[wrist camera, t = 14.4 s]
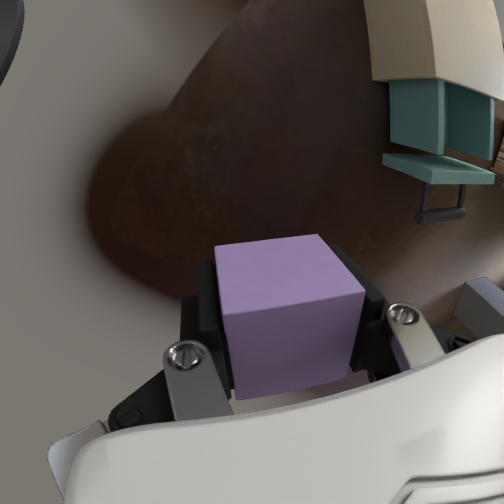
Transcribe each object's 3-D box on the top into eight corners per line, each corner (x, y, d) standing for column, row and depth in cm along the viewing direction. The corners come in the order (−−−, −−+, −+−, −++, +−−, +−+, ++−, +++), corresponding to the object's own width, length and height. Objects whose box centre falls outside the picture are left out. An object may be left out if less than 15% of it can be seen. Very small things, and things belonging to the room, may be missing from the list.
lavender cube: (225, 327, 13) (236, 401, 9) (213, 245, 11) (221, 314, 7) (312, 313, 13) (345, 378, 9) (317, 233, 11) (366, 290, 8)
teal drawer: (443, 203, 30) (486, 228, 23) (379, 208, 29) (423, 238, 22) (447, 67, 22) (496, 68, 15) (378, 48, 21) (429, 38, 14)
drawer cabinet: (447, 95, 25) (507, 103, 16) (371, 80, 23) (435, 76, 15) (435, 0, 18) (489, -11, 10) (357, -28, 17) (408, -59, 9)
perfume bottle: (473, 306, 43) (528, 363, 27) (453, 313, 42) (511, 378, 26) (485, 276, 40) (547, 332, 24) (465, 282, 39) (532, 346, 23)
